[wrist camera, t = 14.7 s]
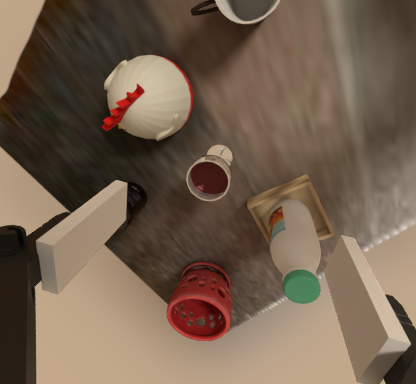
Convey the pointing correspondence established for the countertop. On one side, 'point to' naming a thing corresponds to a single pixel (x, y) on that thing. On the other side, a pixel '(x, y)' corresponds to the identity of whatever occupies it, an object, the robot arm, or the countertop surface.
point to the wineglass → (211, 174)
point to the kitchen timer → (148, 97)
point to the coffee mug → (240, 9)
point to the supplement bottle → (133, 203)
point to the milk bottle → (295, 249)
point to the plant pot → (201, 302)
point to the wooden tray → (290, 190)
